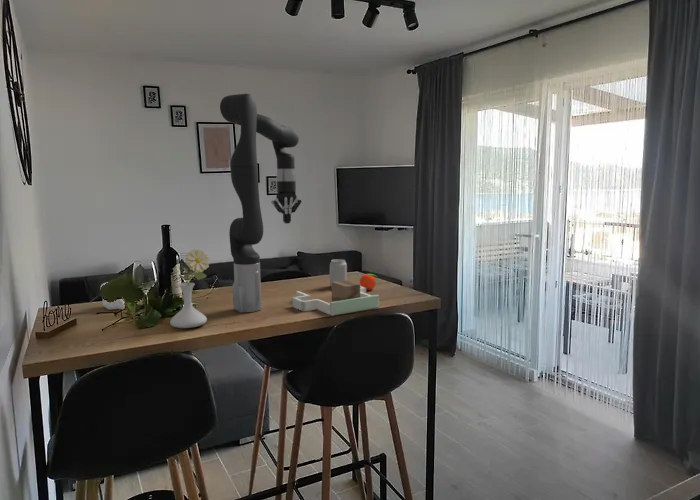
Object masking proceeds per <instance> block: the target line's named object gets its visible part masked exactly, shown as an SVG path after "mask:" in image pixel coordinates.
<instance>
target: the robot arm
mask: <svg viewBox="0 0 700 500" xmlns="http://www.w3.org/2000/svg"><path fill="white" fill-rule="evenodd" d="M219 110H220V113H221V116H222V117H223V119H224V120H225V121H226V122H228V123H231V124H236V125H238V126H240V136H239V140H238V142H237V145H236V146H235V149H234V151H233V152H232V154H231V155H232V156H231V158H230V161H229V162H230V164H229V165H230V179H231V183H232V187H233V188H234V191H235V193H236V195H237V197H238V199H239V201H240V204H241V210H242V217H237V218H235V219H233V220H232V222H231V223H230V226H229V233H228V235H229V245H230V254H231V257H232V259H233V276H234V277H233V279H234V282H233V283H232V300H233V301H232V303H233V304H232V305H233V310H234V311H235V312H237V313H254V312H259V311H261V310H262V291H261V290H262V287H261V284H262V283H261V282H262V281H261V258H260V254H259V253H258V252H256V251H255V249H254V248H253V246H255V245H257V244H260V242H261V241H262V239H263V235H264V223H263V217H262V211H261V210H262V209H261V203H260V202H261V201H260V189H259V188H260V187H259V169H258V168H259V167H258V158H257V154H258V153H257V133H258V134H259V135H261V136H263V137H264V138H266V139H268V140H269V141H271V143H272V146H273V150H274V153H275V154H274V155H275V157H276V191H277V194H276V197H275V198H274V199H273V200H271V204H272V205H273V207H274V208H275V209H276V211H277V212H278V213H280V214H281V215H282V221H283V223H284V224H290V223H291V222H292V214H293V213H296V212H297V210H298V208H299V207H300V206H301V203H302V200H300V199H299V198H298V197H297V194H296V192H297V189H296V187H297V186H296V185H297V184H296V169H295V167H296V165H295V162H296V161H295V156H294V154H291V153H288V152H286V150H285V148H295V147H296V146H298V143H299V141H300V140H299V139H300V137H299V134H298V133H297V131H296V130H294V128H292V127H289V126H286V125H283V124H280V123H279V122H277V121H275V120H274V119H272V118H271V117H268V116H267V115H266V116H265V115H263V114H259V113H258V110H257V103H256V100H255V98H254V96H253V95H252V94H250V93H238V94H229V95H227V96H224V97H223V98H222V99H221V101H220V103H219Z"/></svg>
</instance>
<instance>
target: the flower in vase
mask: <svg viewBox="0 0 700 500" xmlns="http://www.w3.org/2000/svg"><path fill="white" fill-rule="evenodd" d="M185 256H186V257H185V264H186V266H187V267H188V268H189V270H190V271H192V275H191V276H190V278H189V277H188V276H185V275H181V274H180V273H178V277H179V278H180V279H184V280H187V281H188V282H182V283H179V284H178V286H179V287H180V288H179V289H180V290H181V292H182V296H183V306H182V308H181V309H179V311H178V312H177V313H176V314H175V315H173V316H172V318H171V319H170V322H169V323H170V325H171V326H172V327H175V328H178V329H190V328H191V329H193V328H197V327H200V326H202V325H204V324H205V323H207V322H208V318H207V316H206V315H205V314H204V313H202V312H200V311H199V310H198V309H196V308H195V307H194V306H193V304H192V292H193V289H194V286H195V284H196V283H195V282H191V280H192V279H193V277H194V278H196V279H197V280H202V279H205V278H207V274H205V273H204V270H205V271H206V270H207V269H208V268H209V267H210V266H209V265H210V264H211V263H210V258H209V256H208V255H207V253H205V251H203V250H201V249H196V248H194V249H192V250H190V251H189V252H187V253H186V255H185Z"/></svg>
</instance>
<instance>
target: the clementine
mask: <svg viewBox="0 0 700 500" xmlns="http://www.w3.org/2000/svg"><path fill="white" fill-rule="evenodd" d="M376 277H377V279H378V280H379V278H378V276H377V275H376V274H373V273H365V274H363V275H362V276H361V277H360V279H359V283H360V286H362V287H365V288H366V291H370V290H373V289H374V288H375V287H376V285H377V279H376Z"/></svg>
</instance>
